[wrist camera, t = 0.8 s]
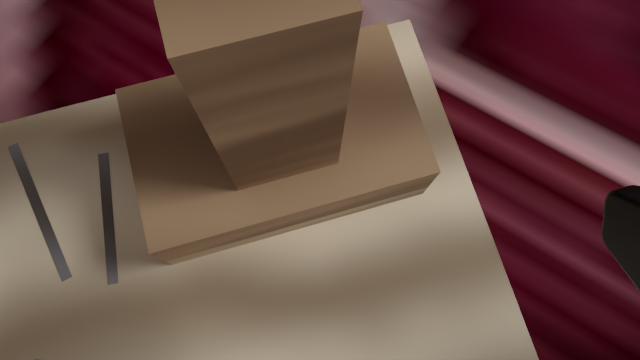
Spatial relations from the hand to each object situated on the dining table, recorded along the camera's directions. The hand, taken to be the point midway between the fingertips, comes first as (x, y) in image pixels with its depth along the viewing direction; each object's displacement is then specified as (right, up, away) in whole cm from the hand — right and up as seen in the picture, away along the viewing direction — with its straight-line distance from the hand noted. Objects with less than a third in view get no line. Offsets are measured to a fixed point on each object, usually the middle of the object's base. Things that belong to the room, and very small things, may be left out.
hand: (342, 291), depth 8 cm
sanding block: (-2, +3, +13) cm, 13 cm away
